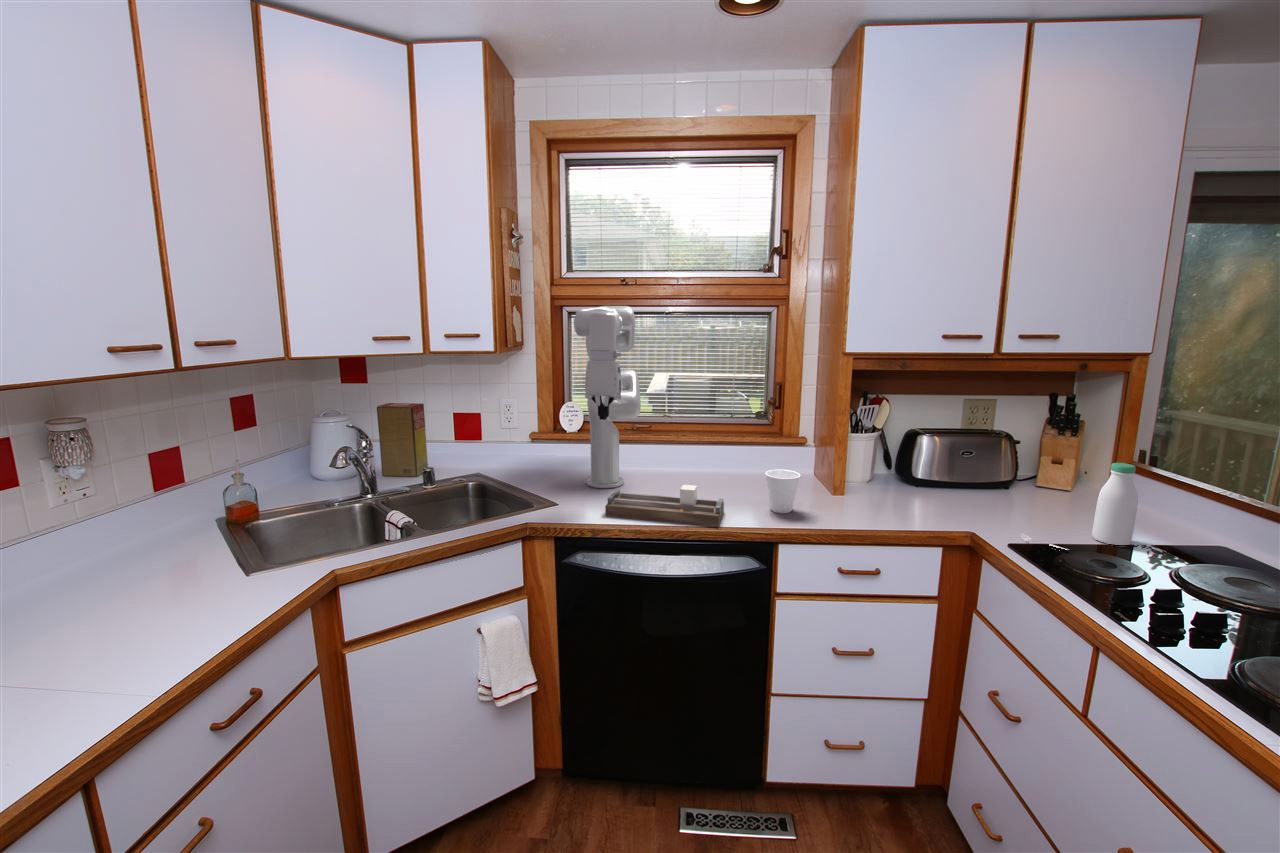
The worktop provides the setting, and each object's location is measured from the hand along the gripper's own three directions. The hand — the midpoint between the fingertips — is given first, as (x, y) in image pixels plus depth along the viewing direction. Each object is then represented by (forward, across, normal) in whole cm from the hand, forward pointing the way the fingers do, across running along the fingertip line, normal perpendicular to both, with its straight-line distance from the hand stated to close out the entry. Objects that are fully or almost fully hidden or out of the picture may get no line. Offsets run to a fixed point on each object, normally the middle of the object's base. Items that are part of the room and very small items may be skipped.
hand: (603, 418), depth 165 cm
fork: (+26, -119, +11) cm, 122 cm away
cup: (+26, -52, -5) cm, 59 cm away
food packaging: (+27, +78, -16) cm, 85 cm away
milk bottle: (+25, -133, +1) cm, 135 cm away
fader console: (+26, -20, +6) cm, 33 cm away
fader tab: (+22, -26, +6) cm, 35 cm away
